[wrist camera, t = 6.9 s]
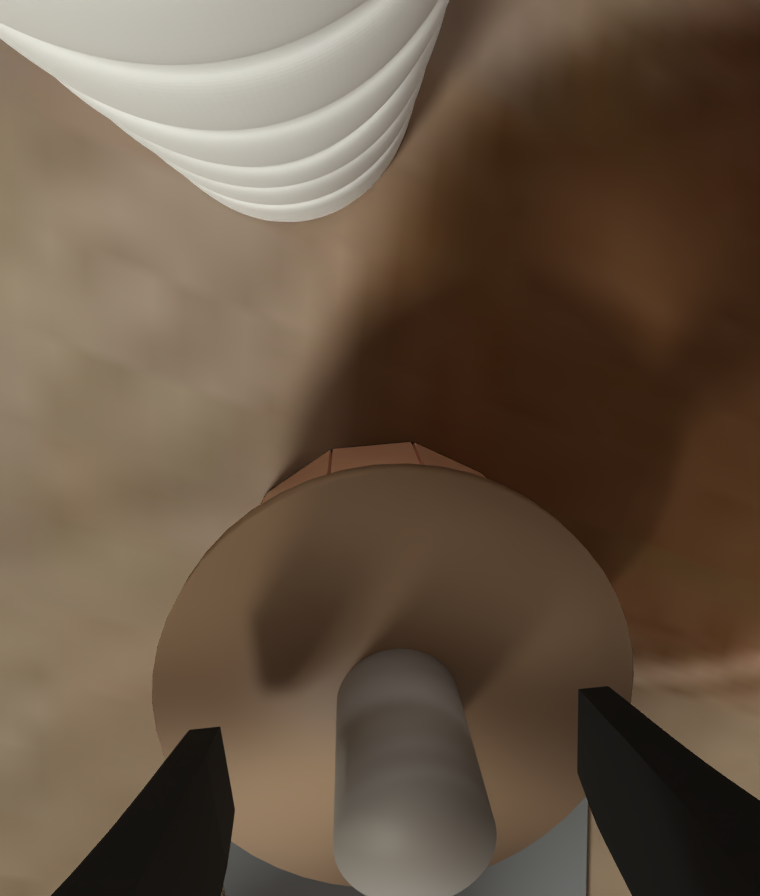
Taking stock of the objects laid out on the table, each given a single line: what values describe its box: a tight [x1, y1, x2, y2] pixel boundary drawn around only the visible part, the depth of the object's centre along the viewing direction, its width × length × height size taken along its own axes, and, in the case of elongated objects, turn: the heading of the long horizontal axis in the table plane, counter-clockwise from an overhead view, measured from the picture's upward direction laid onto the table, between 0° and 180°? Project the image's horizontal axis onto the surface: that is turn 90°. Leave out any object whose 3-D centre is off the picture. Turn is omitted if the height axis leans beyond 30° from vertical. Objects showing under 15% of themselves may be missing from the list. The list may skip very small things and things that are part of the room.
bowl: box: [261, 442, 486, 504], centre depth 16 cm, size 9×9×4 cm
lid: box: [152, 463, 633, 896], centre depth 12 cm, size 11×11×4 cm
